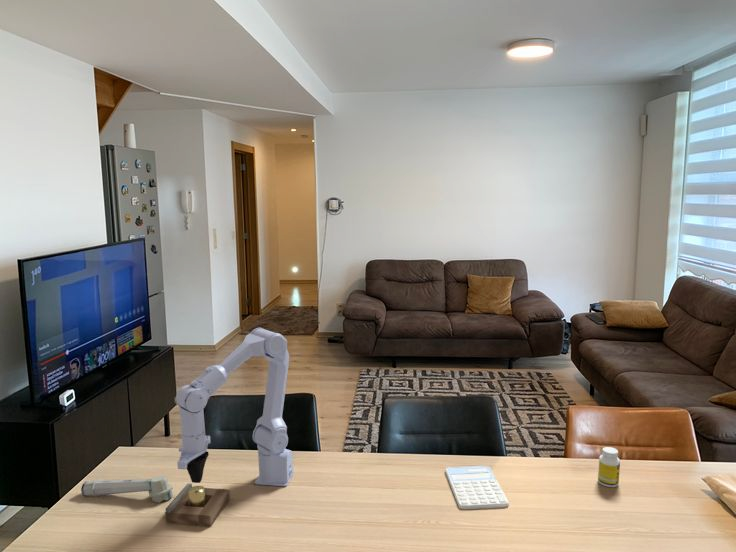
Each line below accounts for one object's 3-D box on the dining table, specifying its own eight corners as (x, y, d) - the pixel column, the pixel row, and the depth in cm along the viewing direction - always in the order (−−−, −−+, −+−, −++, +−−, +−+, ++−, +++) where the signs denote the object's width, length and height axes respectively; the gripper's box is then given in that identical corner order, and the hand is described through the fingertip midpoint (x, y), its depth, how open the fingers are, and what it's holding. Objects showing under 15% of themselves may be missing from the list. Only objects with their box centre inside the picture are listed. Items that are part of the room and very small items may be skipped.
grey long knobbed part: (89, 476, 155) (172, 469, 151) (95, 498, 156) (177, 491, 152) (78, 486, 150) (163, 479, 146) (83, 509, 151) (168, 502, 147)
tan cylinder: (208, 507, 146) (207, 486, 145) (201, 516, 142) (199, 494, 141) (194, 505, 146) (193, 485, 145) (187, 514, 143) (185, 493, 142)
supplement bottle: (619, 489, 151) (621, 456, 150) (598, 486, 153) (600, 453, 151) (617, 479, 156) (619, 447, 155) (597, 476, 158) (598, 444, 156)
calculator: (459, 511, 143) (459, 504, 143) (444, 472, 163) (444, 466, 162) (510, 508, 144) (510, 502, 143) (488, 470, 163) (489, 464, 163)
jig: (229, 499, 149) (228, 486, 148) (211, 526, 137) (209, 511, 137) (188, 496, 151) (187, 483, 150) (165, 523, 139) (164, 508, 138)
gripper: (191, 419, 148) (194, 466, 150) (164, 444, 134) (168, 495, 136) (216, 420, 147) (219, 467, 149) (191, 445, 133) (195, 497, 135)
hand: (196, 481), depth 143 cm, fingers closed
